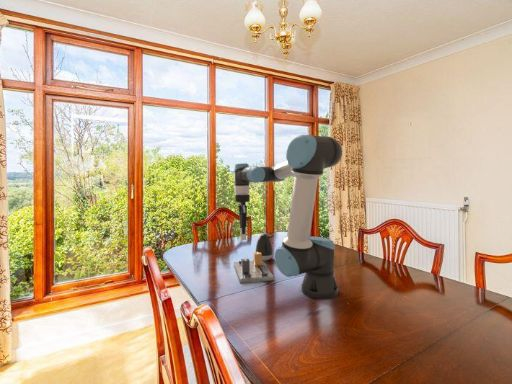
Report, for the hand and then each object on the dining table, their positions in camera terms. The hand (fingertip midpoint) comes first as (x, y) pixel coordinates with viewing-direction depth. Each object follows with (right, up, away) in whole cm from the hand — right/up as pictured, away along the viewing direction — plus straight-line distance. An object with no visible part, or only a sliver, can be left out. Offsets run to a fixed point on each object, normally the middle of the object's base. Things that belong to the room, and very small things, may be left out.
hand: (243, 239), depth 145 cm
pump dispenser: (+11, -15, +20) cm, 27 cm away
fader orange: (+7, -14, +5) cm, 16 cm away
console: (+5, -16, -2) cm, 17 cm away
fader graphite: (+1, -15, -6) cm, 16 cm away
